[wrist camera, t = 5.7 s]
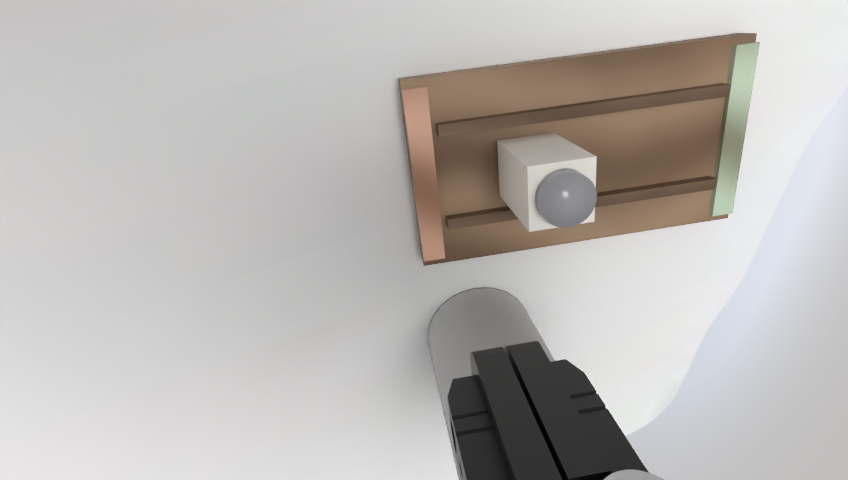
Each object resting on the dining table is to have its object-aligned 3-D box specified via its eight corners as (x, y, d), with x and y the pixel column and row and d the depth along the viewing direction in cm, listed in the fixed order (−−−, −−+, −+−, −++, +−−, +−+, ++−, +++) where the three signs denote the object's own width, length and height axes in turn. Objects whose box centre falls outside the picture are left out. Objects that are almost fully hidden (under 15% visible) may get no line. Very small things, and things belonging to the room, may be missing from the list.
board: (398, 78, 24) (401, 82, 23) (739, 33, 26) (765, 33, 24) (421, 256, 29) (425, 270, 27) (714, 210, 30) (734, 221, 28)
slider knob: (497, 140, 25) (533, 171, 20) (553, 132, 25) (605, 161, 20) (499, 196, 26) (535, 239, 21) (553, 187, 26) (602, 228, 21)
